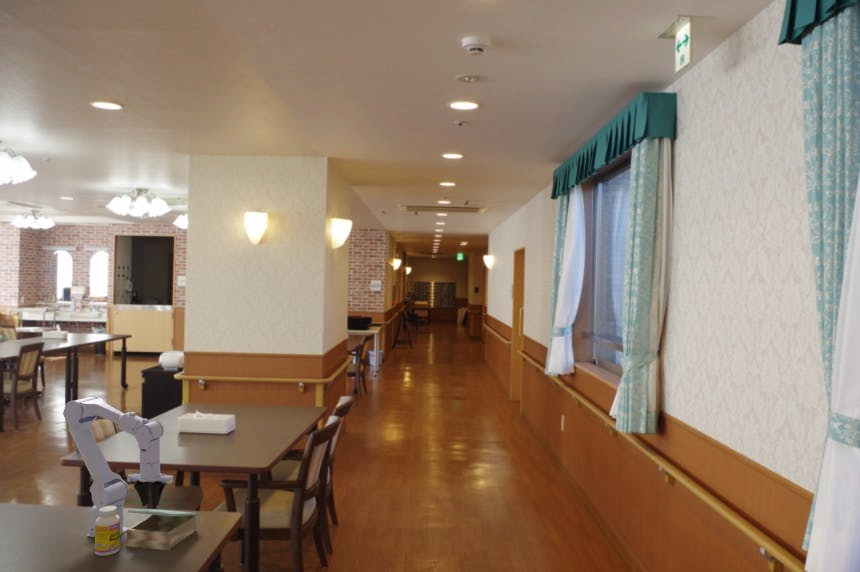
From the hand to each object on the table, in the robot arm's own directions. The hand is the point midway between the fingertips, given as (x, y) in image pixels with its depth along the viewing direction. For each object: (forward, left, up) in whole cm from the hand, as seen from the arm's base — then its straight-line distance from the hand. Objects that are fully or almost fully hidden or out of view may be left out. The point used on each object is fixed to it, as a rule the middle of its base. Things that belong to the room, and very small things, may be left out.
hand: (150, 505), depth 198 cm
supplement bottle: (-7, -11, -11) cm, 17 cm away
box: (+3, +1, -10) cm, 11 cm away
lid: (+3, +1, -3) cm, 5 cm away
